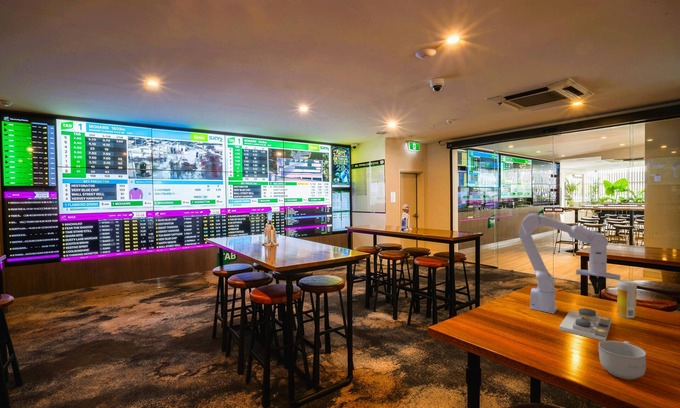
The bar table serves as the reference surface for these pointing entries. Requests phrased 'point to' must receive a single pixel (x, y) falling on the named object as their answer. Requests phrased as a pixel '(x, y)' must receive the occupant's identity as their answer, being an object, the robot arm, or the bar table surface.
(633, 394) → the bar table surface
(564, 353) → the bar table surface
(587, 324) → the button
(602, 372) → the bar table surface
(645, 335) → the bar table surface
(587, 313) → the button
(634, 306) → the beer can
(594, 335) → the board
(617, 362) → the light grey bowl
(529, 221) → the robot arm
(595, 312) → the button
